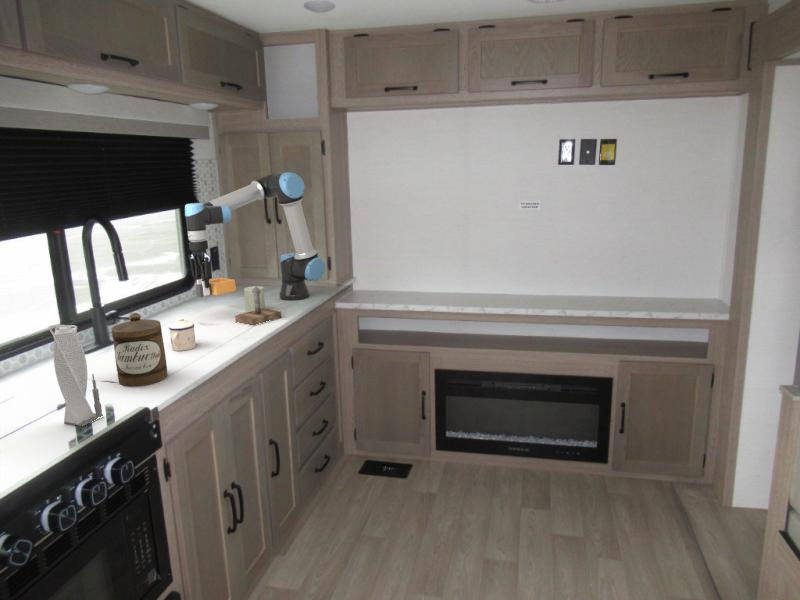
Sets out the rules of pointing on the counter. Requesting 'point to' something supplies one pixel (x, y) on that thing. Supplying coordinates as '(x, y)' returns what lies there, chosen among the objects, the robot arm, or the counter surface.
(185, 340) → the teacup with lid
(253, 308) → the pale green upright block
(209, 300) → the counter surface
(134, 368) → the wooden container
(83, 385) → the skyscraper
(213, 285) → the orange gray open box
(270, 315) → the keeper base
